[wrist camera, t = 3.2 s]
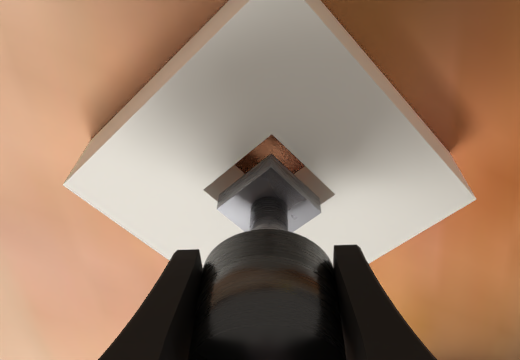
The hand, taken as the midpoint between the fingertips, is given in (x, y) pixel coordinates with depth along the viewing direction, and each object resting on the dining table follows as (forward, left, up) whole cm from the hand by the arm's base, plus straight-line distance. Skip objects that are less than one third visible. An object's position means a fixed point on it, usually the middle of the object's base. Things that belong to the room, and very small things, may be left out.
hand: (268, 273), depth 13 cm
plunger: (0, 0, -4) cm, 4 cm away
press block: (0, 0, -7) cm, 7 cm away
